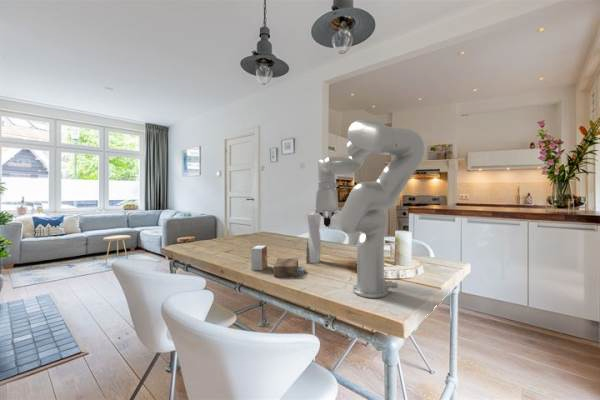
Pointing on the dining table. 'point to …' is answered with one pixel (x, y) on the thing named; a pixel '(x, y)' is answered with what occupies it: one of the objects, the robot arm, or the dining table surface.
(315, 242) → the skyscraper
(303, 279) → the dining table surface
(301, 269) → the tile
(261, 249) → the small box
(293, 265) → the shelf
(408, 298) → the dining table surface
